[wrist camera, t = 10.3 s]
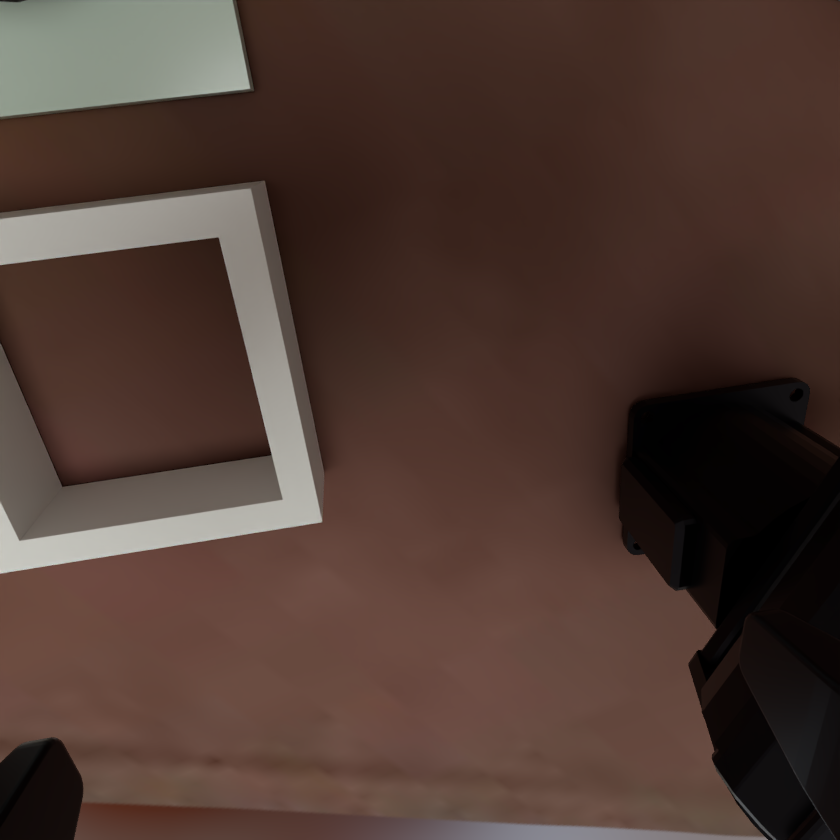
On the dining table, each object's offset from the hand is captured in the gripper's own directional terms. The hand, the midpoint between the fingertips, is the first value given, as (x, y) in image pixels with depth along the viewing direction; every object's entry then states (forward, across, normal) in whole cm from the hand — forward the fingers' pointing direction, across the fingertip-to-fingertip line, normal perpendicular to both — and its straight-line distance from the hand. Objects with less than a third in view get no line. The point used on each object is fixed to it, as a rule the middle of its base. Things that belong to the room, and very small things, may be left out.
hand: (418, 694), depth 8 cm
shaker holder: (+13, +7, -1) cm, 15 cm away
